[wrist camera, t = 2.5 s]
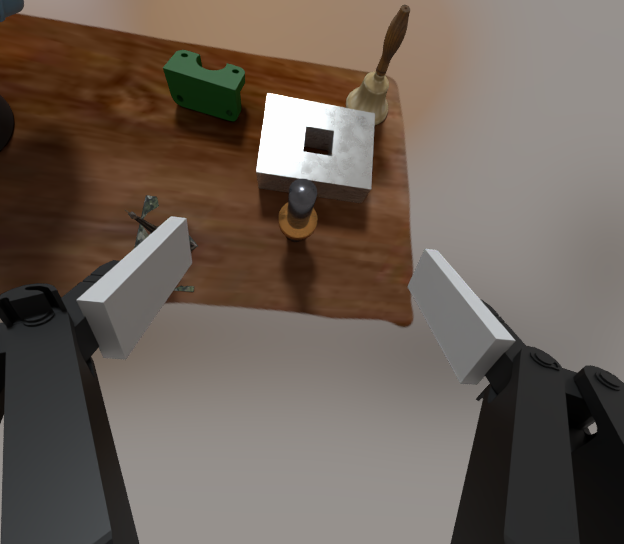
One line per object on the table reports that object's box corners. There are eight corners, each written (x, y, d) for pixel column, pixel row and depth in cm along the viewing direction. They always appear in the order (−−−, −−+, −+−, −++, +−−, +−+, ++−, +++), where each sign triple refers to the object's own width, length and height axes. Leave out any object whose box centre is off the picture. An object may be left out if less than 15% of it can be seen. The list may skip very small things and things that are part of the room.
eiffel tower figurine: (146, 195, 42) (86, 139, 29) (211, 203, 43) (181, 152, 30) (127, 287, 39) (50, 271, 26) (197, 292, 40) (157, 280, 27)
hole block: (258, 188, 44) (256, 171, 39) (268, 117, 46) (267, 93, 41) (361, 203, 46) (371, 189, 41) (365, 134, 48) (375, 113, 43)
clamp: (239, 117, 50) (256, 77, 43) (229, 137, 48) (245, 97, 41) (175, 73, 45) (183, 19, 38) (160, 93, 43) (165, 39, 36)
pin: (276, 246, 42) (275, 211, 28) (280, 214, 43) (281, 165, 29) (310, 250, 43) (325, 217, 29) (313, 219, 44) (329, 172, 30)
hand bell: (338, 112, 48) (366, 14, 33) (356, 81, 50) (391, -26, 35) (377, 133, 49) (423, 46, 33) (393, 101, 50) (445, 4, 35)
